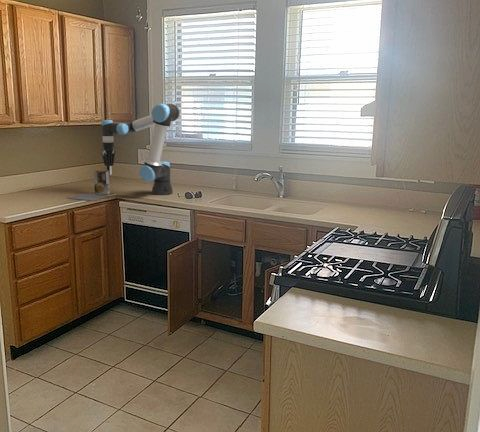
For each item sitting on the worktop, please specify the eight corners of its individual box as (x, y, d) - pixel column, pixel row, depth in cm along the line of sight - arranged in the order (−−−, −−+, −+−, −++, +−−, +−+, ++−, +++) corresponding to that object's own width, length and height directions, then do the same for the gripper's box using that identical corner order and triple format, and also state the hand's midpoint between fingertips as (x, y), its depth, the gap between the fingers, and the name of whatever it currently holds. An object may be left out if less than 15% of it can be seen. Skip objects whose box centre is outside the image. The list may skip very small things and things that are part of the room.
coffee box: (110, 193, 340) (109, 170, 337) (107, 194, 334) (105, 172, 330) (98, 192, 341) (96, 170, 338) (94, 194, 335) (93, 171, 331)
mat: (108, 196, 328) (108, 195, 328) (91, 200, 312) (90, 200, 312) (85, 193, 336) (85, 193, 336) (67, 198, 320) (67, 197, 320)
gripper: (109, 141, 345) (111, 173, 350) (97, 142, 333) (99, 175, 338) (118, 141, 342) (119, 174, 347) (106, 142, 330) (108, 176, 336)
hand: (109, 174), depth 343 cm, fingers closed
